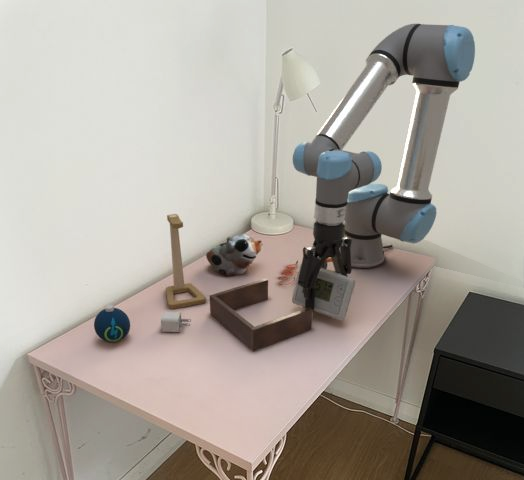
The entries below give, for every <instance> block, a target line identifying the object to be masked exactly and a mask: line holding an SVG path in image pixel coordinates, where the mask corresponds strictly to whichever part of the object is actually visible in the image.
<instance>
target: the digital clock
mask: <svg viewBox="0 0 524 480" xmlns="http://www.w3.org/2000/svg"><path fill="white" fill-rule="evenodd" d="M301 265H302V263H301V264H300V265H299V268H298V271H299V272H298V271H297V272H298V273H297V274H298V275H297V276H296V281H295V285H294V289H293V292H292V297H291V302H292V303H293V305H294V304H295V305H297V306H300V307H302V309H307V308H305V298H304V288H303V287H301V286H300V285H298V279H299V274H300V270H301ZM334 271H335V270H334ZM334 271H333V270H330V269H328V268H327V269H324V268H321V269H320V271H319V273H318V276H317V278H316V280H315V283H314V285H313V287H314V288H315V300H314V311H313V312H314V313H316V314H319V315H322V316H325V317H327V318H330V319H332V318H333V319H336V320H338V321H343V320H345V318H346V317H347V313H348V310H349V305H350V303H351V299H352V296H353V291H354V288H355V285H356V280H355V278H352V277H350V276H348V277H347V276H344V275H342V274H340V273H337V272H334ZM313 312H312V313H313Z"/></svg>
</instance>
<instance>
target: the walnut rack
mask: <svg viewBox="0 0 524 480" xmlns="http://www.w3.org/2000/svg"><path fill="white" fill-rule="evenodd" d="M208 296H209V311H210V313H209V314H210V317H212V318H213V319H214V320H215V321H216V322H218V323H219V324H220V325H221V327H223V328H224V329H226V330H227V331H228V332H229V333H230V334H232V335H233V336H234V337H235V338H236V339H238V340H239V341H240V342H241V343H243V345H245V346H246V347H247V348H248V349H250V350H251V351H252V352H256V351H259V350H261V349H264V348H266V347H269V346H272V345H274V344H277V343H279V342H282V341H285V340H288V339H291V338H293V337H296V336H298V335H301V334H304V333H306V332H309V331H311V330H312V325H313V309H312V308H310V307H309V308H307V309H305V308H303V309H301V310H298V311H295V312H292V313H289V314H287V315H284V316H280V317H278V318H276V319H273V320H270V321H267V322H264V323H261V324H258V325H256V326H254V325H253V324H252V323H251V322H250V321H248V320H247V319H246V318H244V317H243V316H242V315H241V314H239V313H238V312H237V311H236V310H240V309H242V308H245V307H248V306H252V305H255V304H258V303H262V302H264V301H267V300H269V279H268V278H266V277H265V278H263V279H259V280H256V281H252V282H249V283H246V284H243V285H239V286H236V287H232V288H229V289H226V290H223V291H219V292H216V293H213V294H210V295H208Z"/></svg>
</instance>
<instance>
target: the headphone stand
mask: <svg viewBox="0 0 524 480" xmlns="http://www.w3.org/2000/svg"><path fill="white" fill-rule="evenodd" d="M166 219H167V222H168V223H169V235H170V249H171V263H172V265H171V266H172V279H173V280H172V281H173V285H169V286H166V287H165V295H166V302H167V307H168V309H171V310H175V309H181V308H185V307H192V306H197V305H203V304H205V303H206V301H207V298H206V296H205V295H204V294H203V293H202V292H201V291H200V290H199V289H198V288H196V286H195V285H193V283H189V282H186V283H185V277H184V269H183V268H184V267H183V258H182V249H181V240H180V231H179V229H182V228H183V227H184V221H182V220H181V218H180V216H179V215H178V214H177V213H172V214H167V216H166ZM182 293H190V294H191V295H192V296H193V297H192V298H186V299H181V300H175V296H174V295H176V294H182Z"/></svg>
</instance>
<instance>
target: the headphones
mask: <svg viewBox="0 0 524 480" xmlns="http://www.w3.org/2000/svg"><path fill="white" fill-rule="evenodd" d="M318 258H320V257H318ZM320 259H321V258H320ZM298 263H299V260H296V262H295V263H293V264H288V265H287V266H286V269H283V270H282V271H281V275H282V274H284V276H279V277H278V279H282V280H280V281H278V284H279V286H287V285H290V284H292V283H294V281H295V279H296V278H297V276H298V272H299V270H298V271H297V272H296V273H295V275H294V273H293V272H292V271H295V270H297V269H298V267H296V265H297V264H298ZM328 263H333V262H332V259H331V257H329V258H328V259H326V260H325V263H324V264H322V266H321V268H324V269H327V270H328V266H329V265H328ZM334 272H336V271H335V270H334ZM293 275H294V277H293V280H292V281H291V282H288V283H284V284H283V283H282V282H284V281H287V280H288V277H292V276H293Z"/></svg>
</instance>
